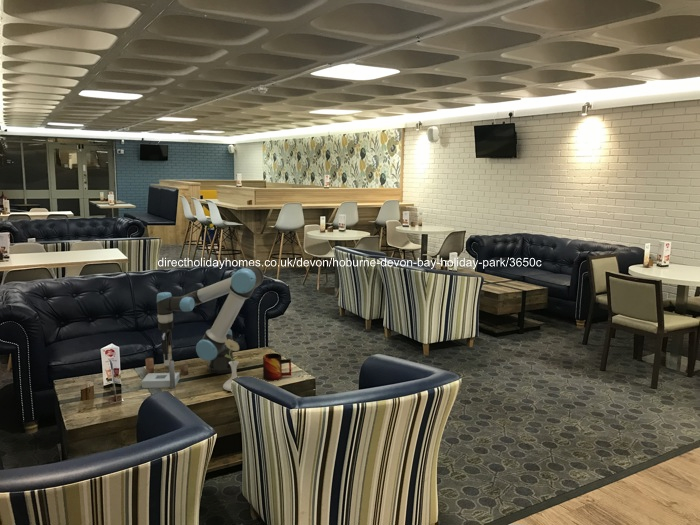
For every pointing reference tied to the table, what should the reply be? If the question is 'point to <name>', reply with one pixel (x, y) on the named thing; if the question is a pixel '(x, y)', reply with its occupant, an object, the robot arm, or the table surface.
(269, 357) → the mug
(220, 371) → the robot arm
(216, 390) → the table surface
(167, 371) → the long pin
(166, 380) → the hole plate
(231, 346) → the flower in vase
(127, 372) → the table surface
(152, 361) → the medium pin
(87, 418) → the table surface
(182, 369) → the short pin
